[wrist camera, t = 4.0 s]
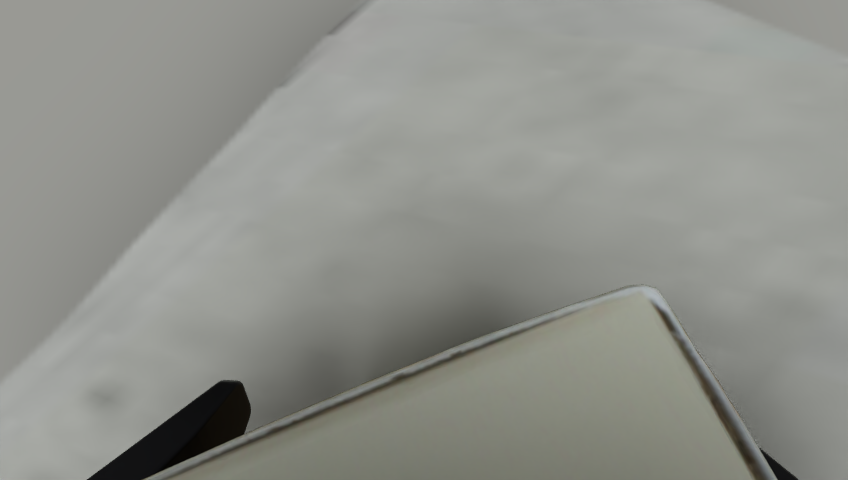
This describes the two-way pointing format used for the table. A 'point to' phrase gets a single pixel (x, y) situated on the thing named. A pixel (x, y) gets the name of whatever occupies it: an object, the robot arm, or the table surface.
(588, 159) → the table surface
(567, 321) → the skincare box
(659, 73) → the table surface
